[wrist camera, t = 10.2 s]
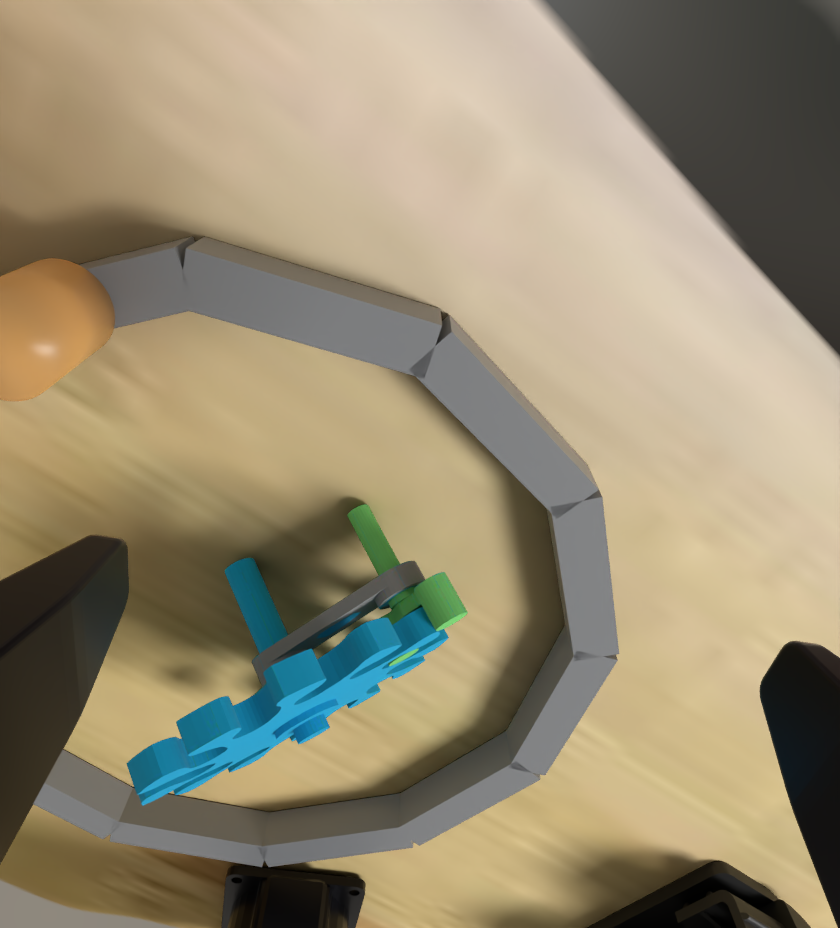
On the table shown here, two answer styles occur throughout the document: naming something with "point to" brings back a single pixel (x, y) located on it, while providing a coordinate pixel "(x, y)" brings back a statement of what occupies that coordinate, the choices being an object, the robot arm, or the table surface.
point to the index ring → (463, 393)
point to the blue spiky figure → (305, 667)
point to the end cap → (708, 904)
